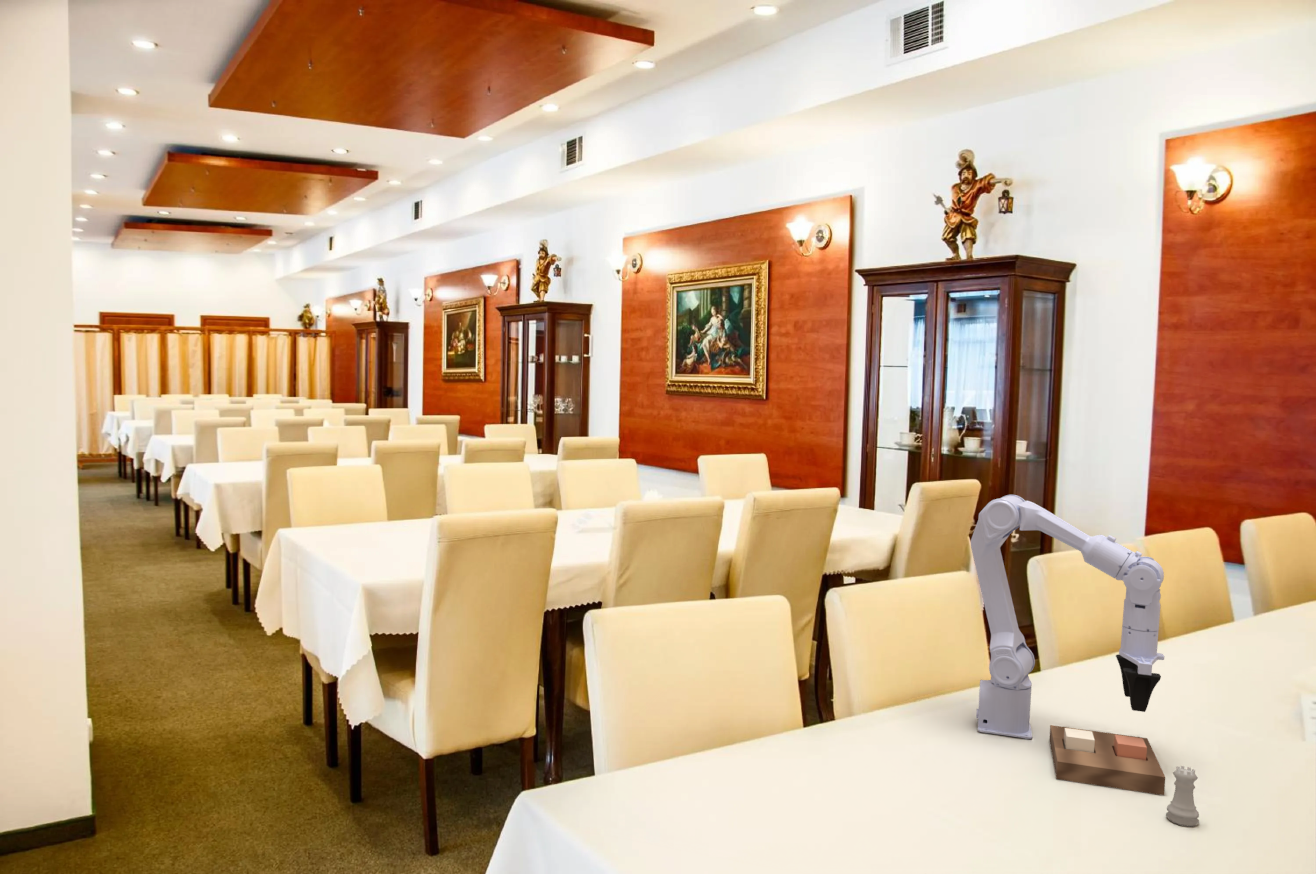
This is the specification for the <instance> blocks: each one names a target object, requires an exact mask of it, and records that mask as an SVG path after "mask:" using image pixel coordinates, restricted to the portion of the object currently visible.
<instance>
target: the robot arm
mask: <svg viewBox="0 0 1316 874" xmlns="http://www.w3.org/2000/svg"><path fill="white" fill-rule="evenodd" d="M1018 528H1019V531H1039V532H1042V533H1044V534H1046V535H1048V536H1049V537H1052V538H1054V539H1055V540H1058V541H1060V542H1061V543H1063V544H1065V545H1067V546H1070V548H1073V549H1075V550H1077V551H1079V552H1080V553H1081V555H1082V558H1083V561H1084V562H1085V563H1087V564H1088V565H1090V566H1092V567H1094V568H1095V569H1097V570H1099V571H1100V572H1103V573H1104V574H1106V575H1108V576H1109V577H1111V578H1113V579H1115V580H1117V581H1122V582H1123V585H1124V586H1125V588H1126V589H1125V598H1124V599H1123V612H1122V626H1121V636H1120V640H1121V641H1120V648H1119V649H1118V654H1115V658H1116V660H1117V662H1118V665H1119V668H1120V672H1121V679H1122V680H1121V681H1122V687H1123V688H1122V689H1123V692H1124V696H1125V697H1126V698H1127V697H1128V698H1129V704H1130V707H1131V708H1130V709H1131V710H1132V711H1134V712H1142V713H1145V712H1146V711H1147V709H1148V705H1149V702H1150V700H1151V699H1150V698H1151V697H1152V694H1153V691H1154V689H1155V687H1156V686H1157V685H1158V683H1159V682H1160V680H1161V678H1162V676H1161V674H1160V673H1156V672H1155V673H1154V672H1153V671H1152V670H1153V665H1154V664H1155V663H1156V662H1157V661H1158V660H1159V661H1164V660H1165V655H1164V653H1160V652H1158V644H1159V643H1158V641H1159V631H1160V630H1159V629H1160V619H1161V618H1160V617H1161V607H1162V606H1161V603H1160V602H1161V598H1162V597H1161V596H1162V595H1161V589H1160V588H1161V586H1162V583H1163V581H1164V577H1165V572H1164V569H1163V567H1162V565H1161V564H1160V563H1159V562H1158V561H1156V560H1155V559H1154V558H1153V557H1151V556H1142V555H1143V553H1142V552H1141V551H1138V550H1136V551H1133V550H1132V549H1130V548H1127V547H1126V546H1124V545H1122V544H1121V543H1118V542H1116V540H1117V538H1116V537H1115V536H1113V535H1111V534H1109V535H1107V536H1105V535H1104V534H1097V535H1092V536H1091V535H1089V534H1088V533H1085V532H1084V531H1082V530H1080V529H1079V528H1078V527H1076V526H1074V525H1073V524H1071V523H1069V522H1068V521H1066V520H1064V519H1062V518H1061V517H1060V516H1057V515H1055V513H1052V512H1051V511H1049V510H1047V509H1046V508H1044V507H1042V506H1040V505H1039V504H1036V503H1035V502H1034V501H1033V502H1032V501H1030V500H1025V499H1024V498H1023V497H1021V496H1020V495H1016V494H1007V495H1004V496H1002V497H1000V498H996V499H995V498H994V499H992V500H991V501H989V502H988V503H987V504H986V505H985V506H984V507H983V508H982V510H981V511H980V512H979V513H978V520H977V522H976V525H975V527H974V530H973V534H972V536H971V539H970V548H971V553H972V557H973V561H974V566H975V570H976V575H977V579H978V582H979V588H980V592H981V596H982V601H983V605H984V609H985V614H986V618H987V622H988V623H987V624H988V627H989V631H990V642H989V652H990V662H989V665H988V670H989V675H990V676H991V677H990V679H980V680H979V690H978V691H979V692H978V694H979V695H978V708H976V716H975V718H976V719H977V732H979V733H986V734H991V735H992V734H994V735H997V736H1000V735H1001V736H1007V737H1012V738H1013V737H1014V738H1022V739H1028V740H1032V739H1033V733H1032V727H1031V722H1030V719H1031V718H1030V717H1031V702H1032V701H1031V699H1032V681H1031V679H1030V677H1029V674H1030V673H1031V672H1032V671H1033V669H1034V667H1035V665H1036V660H1035V655H1034V653H1033V652H1032V650H1031V649H1030V648H1029V646H1027V643H1026V639H1025V636H1024V634H1023V633H1022V632H1021V630H1020V628H1019V624H1018V620H1017V615H1016V612H1015V608H1014V607H1015V606H1014V603H1013V599H1012V593H1011V589H1010V585H1009V581H1008V576H1007V572H1006V568H1005V565H1004V560H1003V559H1004V558H1003V555H1002V551H1001V547H1002V546H1003V544H1004V543H1005V541H1006V540H1008V538H1009V537H1010V534H1012V533H1013V532H1014V531H1015V530H1018Z"/></svg>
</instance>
